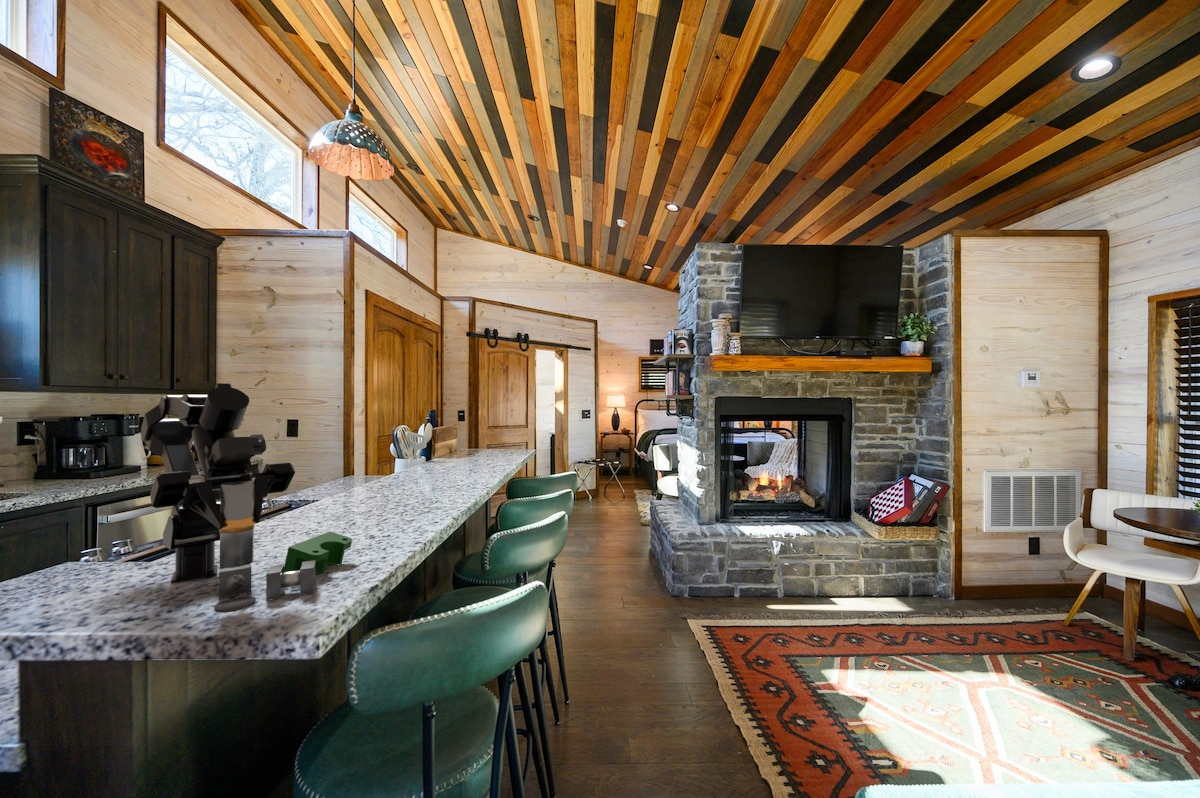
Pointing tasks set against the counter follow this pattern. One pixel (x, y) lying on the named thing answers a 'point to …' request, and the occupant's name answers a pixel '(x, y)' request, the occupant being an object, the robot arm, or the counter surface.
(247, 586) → the grey metal block
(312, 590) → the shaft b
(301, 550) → the clamp
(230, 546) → the sleeve
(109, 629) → the counter surface
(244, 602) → the pad
